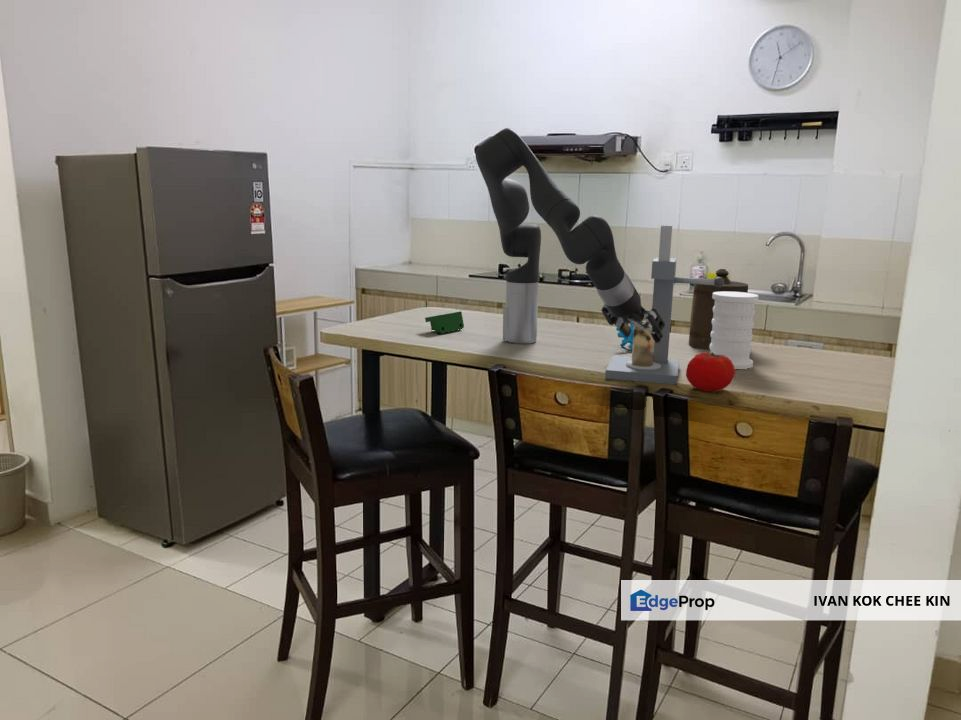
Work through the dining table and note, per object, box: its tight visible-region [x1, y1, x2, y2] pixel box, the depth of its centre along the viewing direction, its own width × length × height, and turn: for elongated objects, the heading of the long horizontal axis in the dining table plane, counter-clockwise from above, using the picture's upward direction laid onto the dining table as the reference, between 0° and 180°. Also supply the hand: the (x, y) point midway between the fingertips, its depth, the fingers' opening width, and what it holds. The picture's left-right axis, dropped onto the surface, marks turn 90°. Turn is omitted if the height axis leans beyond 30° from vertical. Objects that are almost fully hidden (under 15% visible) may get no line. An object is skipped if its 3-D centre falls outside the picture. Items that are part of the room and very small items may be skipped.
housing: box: [631, 320, 655, 367], centre depth 171 cm, size 5×5×10 cm
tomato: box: [685, 350, 736, 393], centre depth 159 cm, size 9×10×8 cm
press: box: [604, 224, 724, 385], centre depth 169 cm, size 25×17×35 cm
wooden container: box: [688, 268, 749, 351], centre depth 206 cm, size 15×15×22 cm
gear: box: [615, 323, 634, 350], centre depth 203 cm, size 11×6×10 cm
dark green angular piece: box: [424, 310, 465, 334], centre depth 223 cm, size 12×6×9 cm, turn 136°
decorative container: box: [709, 291, 759, 370], centre depth 183 cm, size 12×12×18 cm
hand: (643, 337), depth 170 cm, fingers open, 8 cm apart
